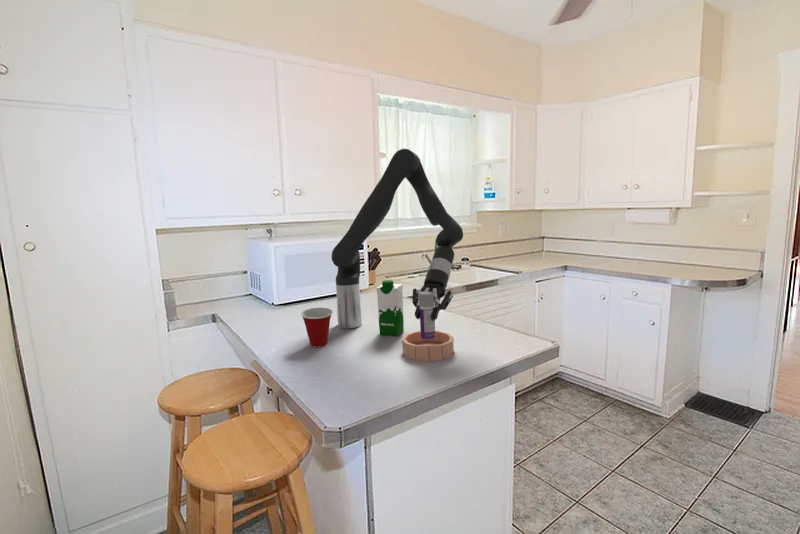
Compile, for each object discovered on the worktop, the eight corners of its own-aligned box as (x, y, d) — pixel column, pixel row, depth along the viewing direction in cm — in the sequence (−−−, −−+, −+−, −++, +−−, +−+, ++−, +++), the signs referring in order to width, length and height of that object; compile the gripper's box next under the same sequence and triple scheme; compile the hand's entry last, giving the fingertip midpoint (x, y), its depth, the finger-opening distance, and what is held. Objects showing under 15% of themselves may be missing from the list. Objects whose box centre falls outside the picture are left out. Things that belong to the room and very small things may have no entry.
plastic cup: (307, 352, 133) (305, 317, 132) (299, 343, 143) (297, 310, 141) (338, 346, 138) (336, 312, 137) (329, 337, 148) (327, 305, 146)
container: (419, 336, 131) (418, 291, 129) (434, 335, 132) (432, 290, 130) (421, 341, 127) (420, 295, 125) (436, 340, 127) (434, 294, 125)
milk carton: (376, 335, 148) (373, 282, 145) (385, 328, 156) (383, 277, 153) (399, 337, 145) (396, 283, 142) (406, 329, 153) (404, 278, 150)
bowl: (410, 363, 120) (410, 349, 120) (398, 346, 136) (397, 333, 135) (460, 357, 124) (460, 343, 123) (443, 340, 139) (443, 328, 139)
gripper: (415, 267, 136) (400, 310, 127) (455, 268, 129) (442, 314, 121) (422, 279, 141) (408, 322, 133) (461, 281, 135) (449, 326, 126)
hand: (424, 318), depth 127 cm, fingers closed on container, 4 cm apart
